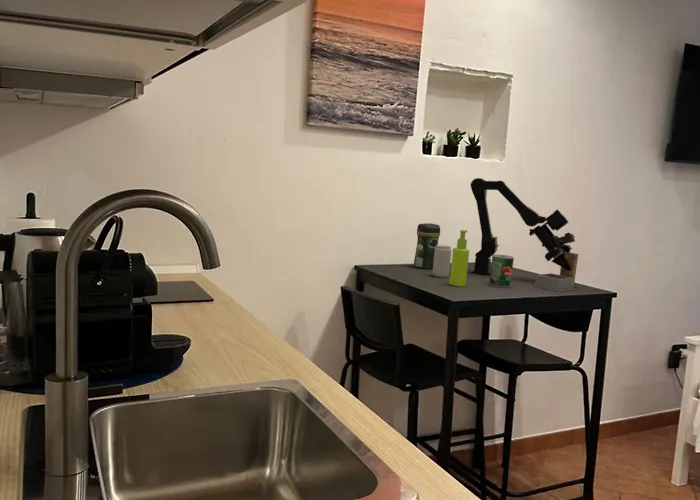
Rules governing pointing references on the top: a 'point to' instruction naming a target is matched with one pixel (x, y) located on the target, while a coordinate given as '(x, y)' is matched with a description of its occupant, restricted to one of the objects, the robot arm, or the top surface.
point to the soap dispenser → (459, 262)
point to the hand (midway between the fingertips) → (572, 269)
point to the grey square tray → (554, 282)
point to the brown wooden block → (572, 262)
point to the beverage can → (442, 261)
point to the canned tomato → (501, 270)
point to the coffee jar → (426, 245)
